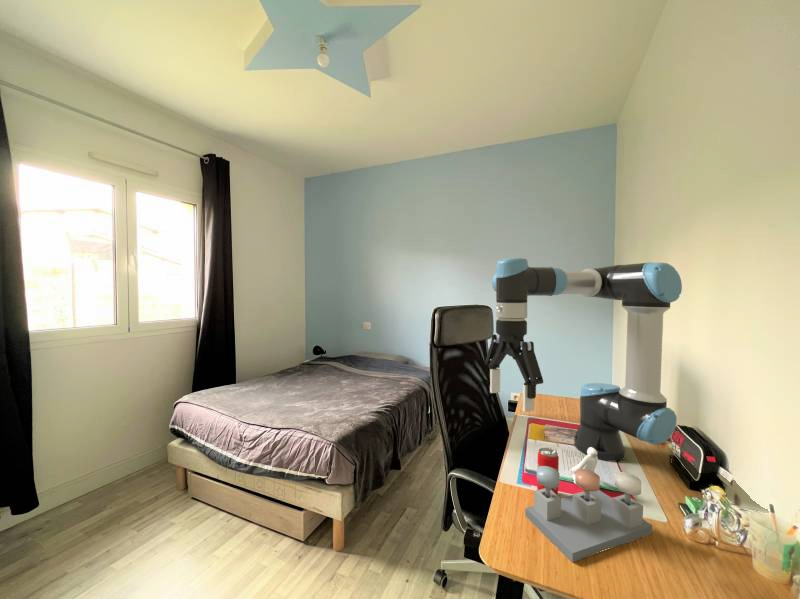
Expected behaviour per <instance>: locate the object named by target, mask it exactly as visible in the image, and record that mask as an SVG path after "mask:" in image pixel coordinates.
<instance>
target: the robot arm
mask: <svg viewBox="0 0 800 599" xmlns="http://www.w3.org/2000/svg"><path fill="white" fill-rule="evenodd" d="M528 264H529V262H528V259H527V258H521V257H513V258H512V257H511V258H508V257H507V258H501V259H499V260H498V261H497V264H496V272H495V274H494V275H493V277H492V279H491V280H492V281H491V286H492V289H493V290H494V292H495V293H496V294H495V296H496V300H495V301H496V304H495V305H496V307H495V308H496V311H495V313H496V314H495V316H496V318H498V319H496V321H495V333H496V334H491V341H490V345H489V347H488V352H487V354H486V357H485V361H484V365H486V366H488V368H489V379H490V380H489V382H490V385H489V393H490V394H495V393H496V394H497V393H500V392H501V367H500V366H501V364H502V362H503V360H504V359H505V358H506V356H507V355H508V356H509V357H512V359H513V360H515V363H516V364H517V367H518V369H519V372H520V373H521V376H522V377H523V379H524V383H522V411H523V412H524V413H527V412H532V411H533V412H534V411H535V399H536V397H537V393H536V392H537V385H541V384H544V378H543V375H542V372H541V368H540V365H539V362H538V359H537V356H536V353H535V344H534V341H532V340H531V341H525V340H524V337H525V336H526V335H527V334H528V321H527V320H526V319H527V318H528V297H530V296H532V297H533V296H536V297H537V296H538V297H539V296H541V297H544V296H548V297H552V296H558V295H559V296H560V295H581V296H583V297H587V298H600V299H607V300H612V301H613V300H614V301H621V308H623V309H624V310H625V311H626V312H627V317H626V318H627V319H626V320H627V324H626V350H625V351H626V353H625V379H624V380H625V381H624V382H625V383H624V384H625V386H624V387H623V388H621V387H620V386H619V385H615V384H610V383H602V382H600V383H599V382H598V383H597V382H595V383H592V382H591V383H585V384H583V385H582V386H581V389H580V395H579V398H580V400H579V403H580V406H579V407H580V408H579V410H580V412H579V413H580V414H579V415H580V416H579V421H580V422H579V426H578V428H577V430H576V432H575V435H574V439H573V444H574V447H575V448H576V450H578V451H580V453H582V454H585V456H587V455H588V454H587V450H588V448H589V447H592V448H594V449H595V450H596V451H597V453H598V454H597V457H598V460H602V459H604V460H603V461H608V460H615V461H614V462H616V461H622V460H623V459H625V457H626V448H625V446H624V444H623V440H622V436H621V433H622V432H623V433H624V434H626V435H629V436H630V437H633V438H636V439H637V440H639V441H643V442H646V443H648V444H651V445H657V446H658V445H661V444H663V443H665V442H667V441H668V440H669V439H670V438H671V436H672V435H673V433H674V432H675V429H676V426H677V422H678V421H677V415H676V412H675V411H674V410H673V409H671V408H670V407H667V405H668V404H667V402H668V400H667V398H666V396H664V395H663V394H662V392H661V385H662V384H661V383H662V380H661V379H662V362H663V361H662V360H663V359H662V358H663V357H662V356H663V332H664V330H663V328H664V314H665V313H666V312H667V311H668V310H669V309H671V303H673V302H675V301H677V300H678V299H679V298H680V295H681V294H682V291H683V290H682V289H683V283H682V278H681V276H680V274H679V272H678V271H677V270H676V268H675V267H674V266H673V265H671V264H669V263H666V262H652V261H651V262H643V263H642V262H641V263H640V262H639V263H631V264H629V263H628V264H615V265H610V266H608V265H607V266H604V267H602V266H601V267H596V268H595V267H594V268H585V269H583V270H581V271H575V270H564V269H561V268H558V267H553V266H549V267H548V266H546V267H544V266H542V267H538V266H537V267H534V266H532V267H531V266H529V265H528ZM620 432H621V433H620Z"/></svg>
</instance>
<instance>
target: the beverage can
mask: <svg viewBox="0 0 800 599" xmlns="http://www.w3.org/2000/svg"><path fill="white" fill-rule="evenodd" d="M559 460H560V457H559V454H558V452H557V451H556V450H554V449H553V448H549V447H541V448H539V449H538V451H537V468H538V467H539V466H548V467H551V468H554V469H555V470H557V471H558V472H559V465H560V464H559ZM536 482H537V483H536V487H537V490H540V489H544V488H545V486H543V485H541V484H540V483H539V482H538V481H537V480H536ZM550 490H552V491H553V492H554V493H555V494H557V495H558V496H559V486H558V487H556V488H550Z"/></svg>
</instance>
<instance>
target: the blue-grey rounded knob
mask: <svg viewBox="0 0 800 599" xmlns="http://www.w3.org/2000/svg"><path fill="white" fill-rule="evenodd" d="M537 481H538V482H539V483H540V484H541V485H543V486H545V497H546V498H550V488H556V487H558V488H559V486H560V472H559V470H558V471H557V470H555V469H554V468H551V467H548V466H539V467H538V466H537V468H536V482H537Z"/></svg>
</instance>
